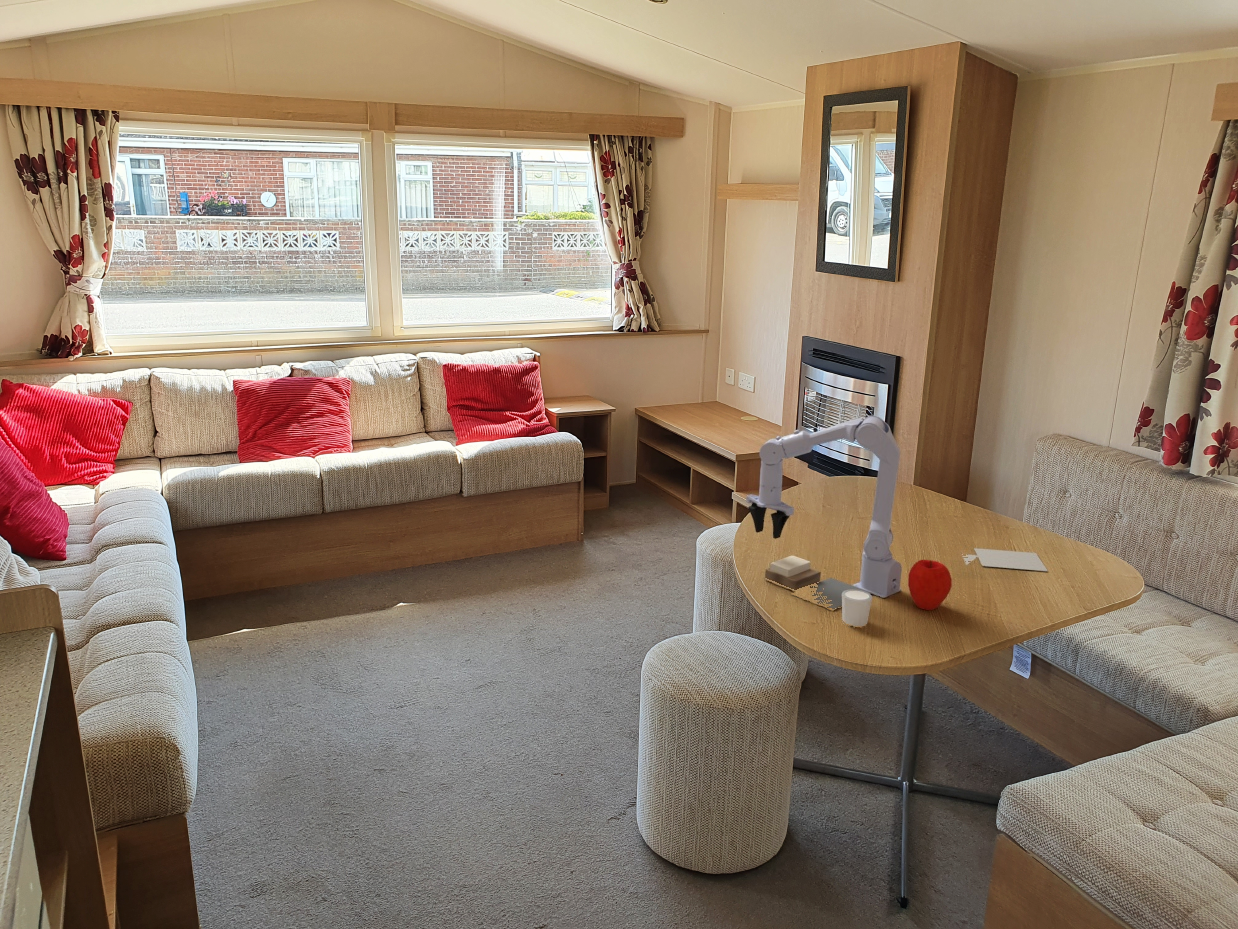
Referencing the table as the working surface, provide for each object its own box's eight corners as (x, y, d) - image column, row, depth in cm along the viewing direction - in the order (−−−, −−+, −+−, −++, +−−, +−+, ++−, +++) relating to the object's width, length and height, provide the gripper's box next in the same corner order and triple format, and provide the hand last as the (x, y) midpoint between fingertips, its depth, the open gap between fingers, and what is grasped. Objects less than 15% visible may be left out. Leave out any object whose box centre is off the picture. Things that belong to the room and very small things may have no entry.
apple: (952, 604, 222) (957, 558, 219) (943, 619, 214) (949, 571, 211) (910, 595, 227) (915, 550, 224) (901, 609, 219) (905, 562, 216)
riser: (819, 582, 235) (820, 572, 234) (795, 592, 228) (795, 581, 228) (789, 571, 242) (790, 560, 241) (764, 580, 236) (765, 569, 235)
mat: (871, 594, 228) (871, 592, 227) (832, 611, 218) (832, 609, 217) (830, 579, 237) (830, 577, 237) (791, 594, 227) (791, 593, 227)
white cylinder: (864, 616, 215) (867, 588, 213) (873, 628, 209) (876, 600, 207) (836, 616, 215) (838, 588, 213) (844, 629, 208) (846, 600, 207)
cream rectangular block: (810, 569, 236) (810, 561, 235) (787, 577, 230) (788, 570, 230) (792, 562, 240) (792, 555, 240) (769, 570, 234) (770, 563, 234)
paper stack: (1056, 587, 235) (1057, 584, 234) (955, 578, 239) (955, 576, 239) (1035, 555, 257) (1035, 553, 256) (943, 548, 261) (943, 545, 261)
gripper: (739, 481, 238) (737, 530, 242) (782, 494, 228) (779, 545, 231) (757, 477, 243) (754, 525, 246) (800, 489, 232) (797, 539, 236)
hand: (767, 534), depth 239 cm, fingers open, 5 cm apart
